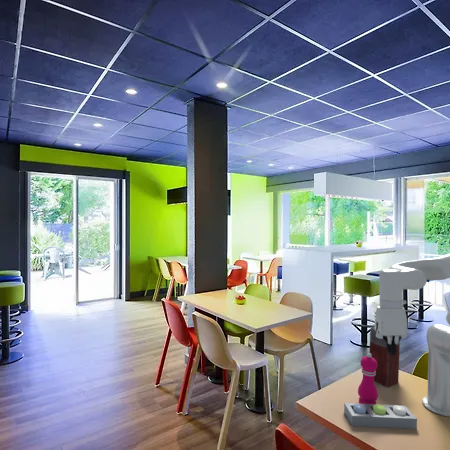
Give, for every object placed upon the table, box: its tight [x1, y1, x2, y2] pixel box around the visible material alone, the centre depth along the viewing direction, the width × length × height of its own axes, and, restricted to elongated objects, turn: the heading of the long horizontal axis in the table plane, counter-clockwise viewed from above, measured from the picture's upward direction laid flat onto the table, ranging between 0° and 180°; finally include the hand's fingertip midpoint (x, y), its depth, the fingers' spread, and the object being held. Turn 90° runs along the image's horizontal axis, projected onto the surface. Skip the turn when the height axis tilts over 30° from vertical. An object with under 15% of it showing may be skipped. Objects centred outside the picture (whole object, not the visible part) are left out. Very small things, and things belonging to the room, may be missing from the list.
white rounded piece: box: [393, 404, 406, 416], centre depth 116 cm, size 4×4×4 cm
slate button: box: [353, 403, 366, 414], centre depth 117 cm, size 4×4×4 cm
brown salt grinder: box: [368, 326, 401, 388], centre depth 147 cm, size 9×11×28 cm
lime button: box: [373, 403, 386, 415], centre depth 117 cm, size 4×4×4 cm
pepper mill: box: [357, 352, 379, 404], centre depth 127 cm, size 7×7×20 cm
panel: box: [343, 402, 418, 430], centre depth 117 cm, size 22×8×4 cm, turn 88°
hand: (391, 353), depth 119 cm, fingers closed
